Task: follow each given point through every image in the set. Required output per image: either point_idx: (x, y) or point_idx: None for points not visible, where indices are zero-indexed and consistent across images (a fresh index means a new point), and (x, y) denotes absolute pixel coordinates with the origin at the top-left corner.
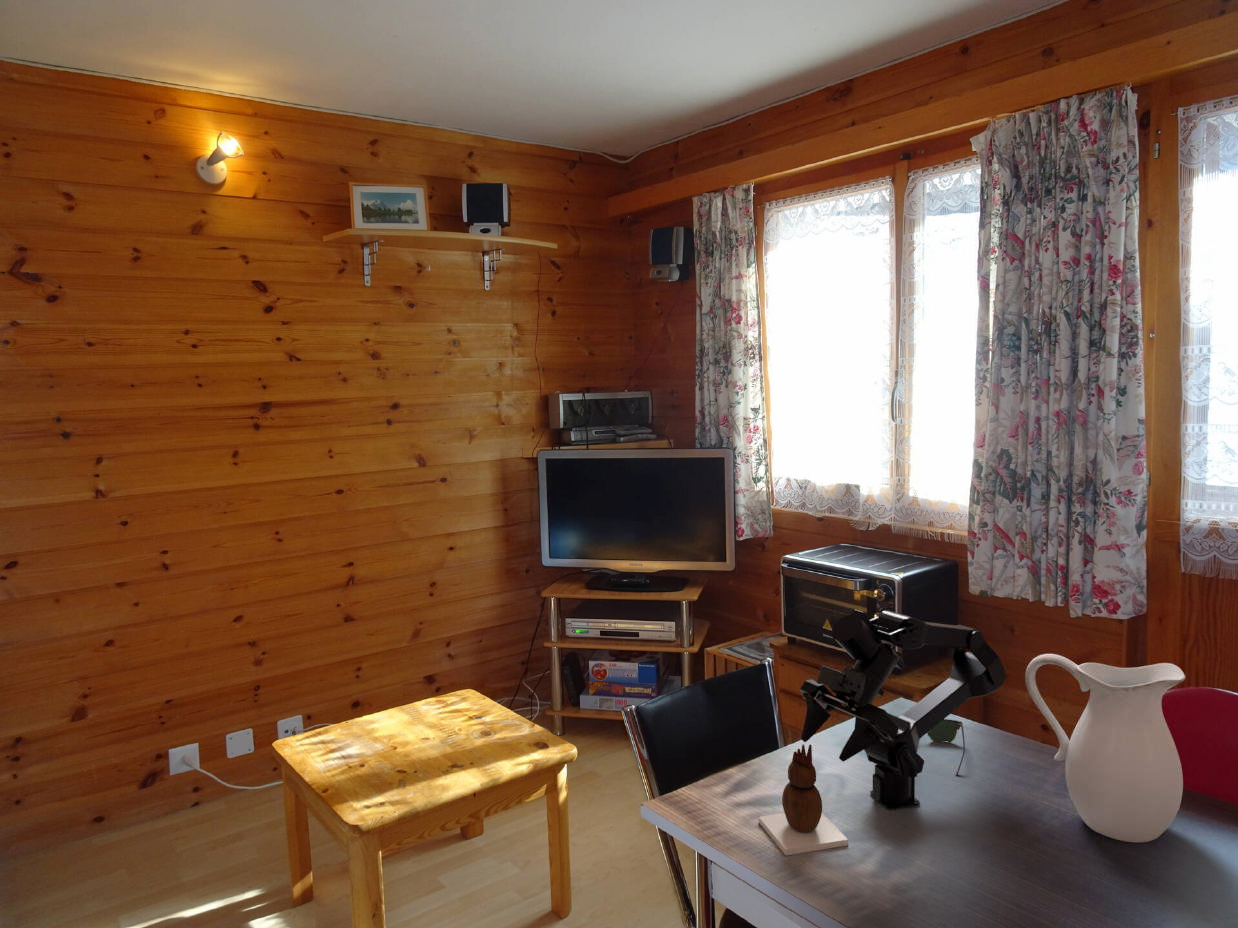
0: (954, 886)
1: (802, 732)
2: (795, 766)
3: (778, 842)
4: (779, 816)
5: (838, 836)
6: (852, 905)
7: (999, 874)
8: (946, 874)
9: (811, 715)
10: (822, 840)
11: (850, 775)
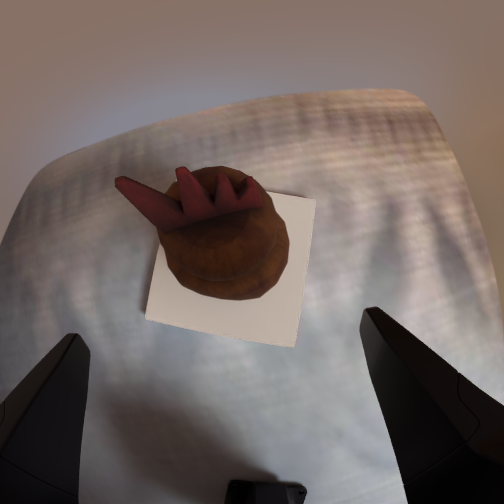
0: (10, 369)
1: (396, 323)
2: (204, 173)
3: None
4: (298, 241)
5: (163, 308)
6: (36, 206)
7: None
8: None
9: (448, 418)
10: (166, 266)
11: (386, 485)
